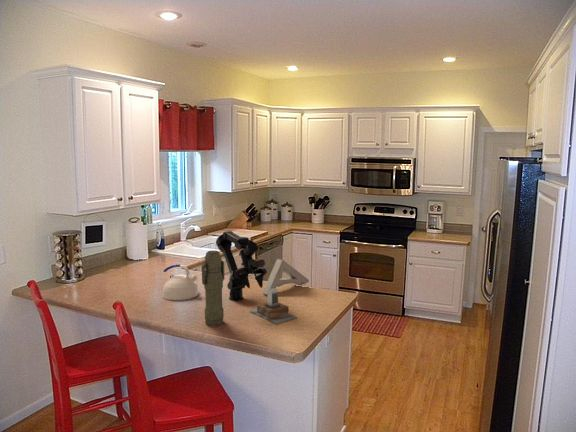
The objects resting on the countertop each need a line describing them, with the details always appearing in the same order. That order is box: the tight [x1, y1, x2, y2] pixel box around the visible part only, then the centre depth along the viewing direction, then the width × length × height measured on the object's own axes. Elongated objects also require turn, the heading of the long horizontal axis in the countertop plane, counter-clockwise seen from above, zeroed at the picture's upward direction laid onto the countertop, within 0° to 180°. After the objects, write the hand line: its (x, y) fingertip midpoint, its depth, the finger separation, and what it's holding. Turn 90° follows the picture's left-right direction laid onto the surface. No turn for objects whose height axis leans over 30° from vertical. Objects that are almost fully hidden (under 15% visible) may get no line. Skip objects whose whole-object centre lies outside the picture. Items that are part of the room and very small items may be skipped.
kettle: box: [162, 264, 199, 301], centre depth 260 cm, size 20×21×18 cm
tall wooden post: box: [266, 288, 279, 309], centre depth 227 cm, size 4×4×12 cm
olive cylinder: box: [201, 250, 226, 327], centre depth 216 cm, size 9×12×35 cm
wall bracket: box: [261, 258, 310, 296], centre depth 273 cm, size 22×4×30 cm
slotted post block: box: [249, 301, 298, 325], centre depth 228 cm, size 22×13×5 cm, turn 40°
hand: (255, 287), depth 232 cm, fingers open, 9 cm apart
